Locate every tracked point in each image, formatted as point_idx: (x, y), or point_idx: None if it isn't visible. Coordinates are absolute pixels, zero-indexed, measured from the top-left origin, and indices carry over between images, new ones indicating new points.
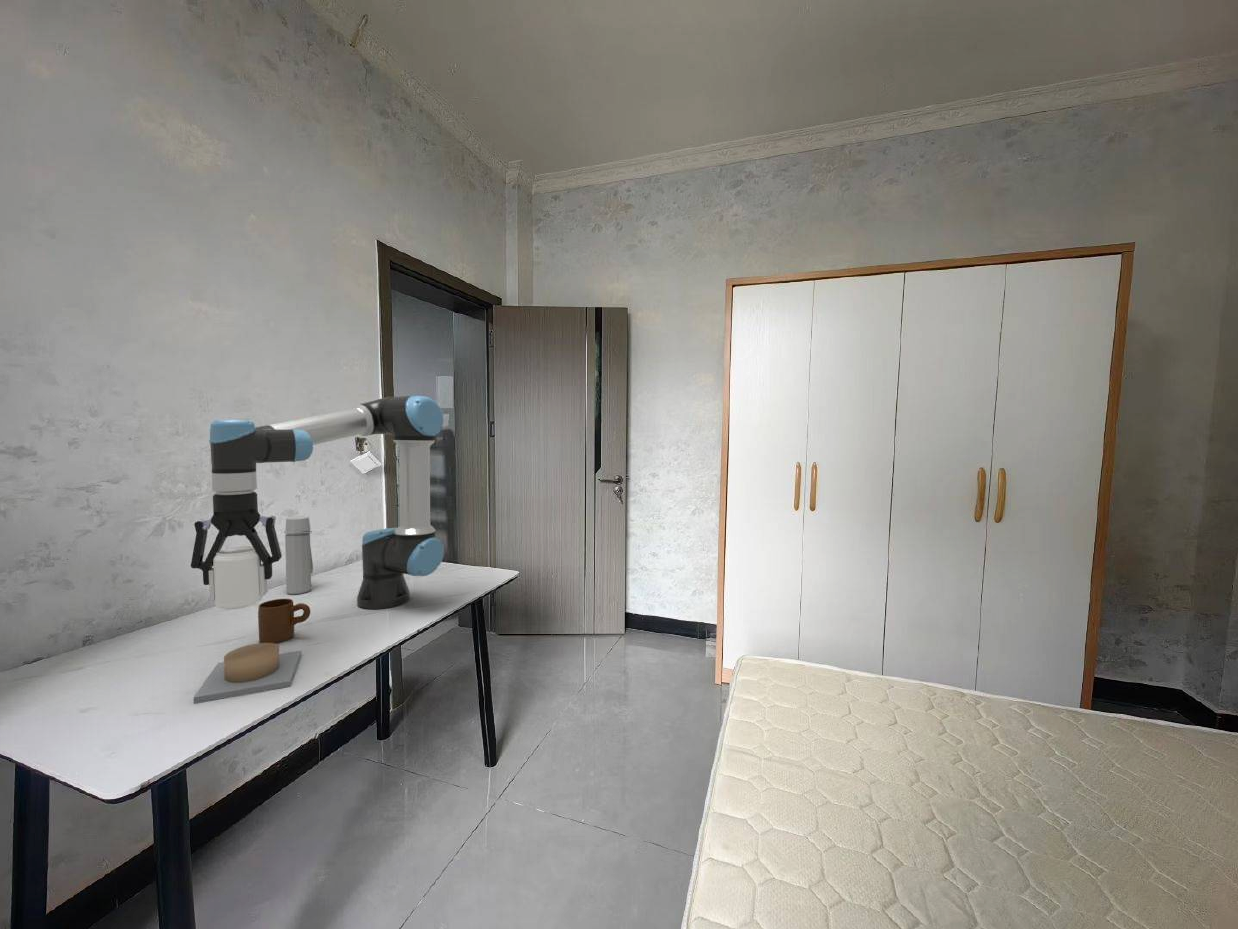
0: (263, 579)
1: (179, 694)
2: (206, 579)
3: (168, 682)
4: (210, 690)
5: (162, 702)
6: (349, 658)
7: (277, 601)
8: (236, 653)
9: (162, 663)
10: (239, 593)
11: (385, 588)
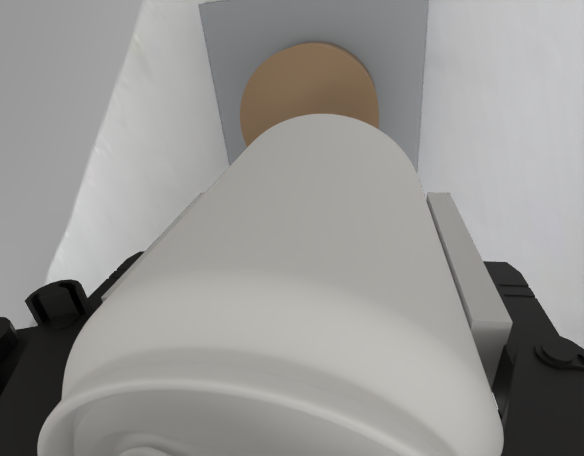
0: (159, 239)
1: (476, 58)
2: (506, 289)
3: (516, 151)
4: (394, 11)
5: (512, 16)
6: (124, 138)
7: None
8: None
9: (546, 271)
10: (275, 138)
11: None
